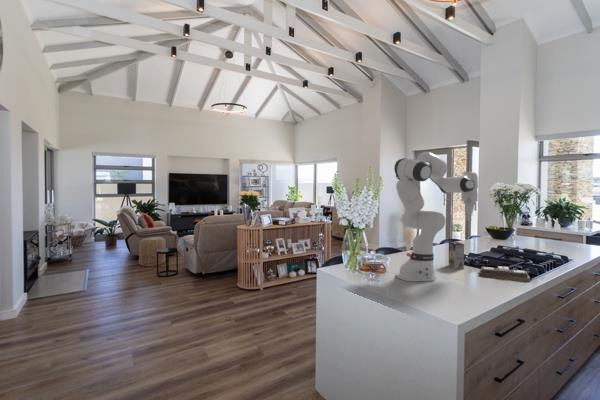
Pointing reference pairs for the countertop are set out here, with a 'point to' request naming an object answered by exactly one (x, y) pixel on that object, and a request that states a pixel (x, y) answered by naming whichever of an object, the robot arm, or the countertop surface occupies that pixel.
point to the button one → (503, 268)
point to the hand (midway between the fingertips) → (468, 220)
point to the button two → (518, 271)
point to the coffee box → (456, 255)
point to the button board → (504, 274)
